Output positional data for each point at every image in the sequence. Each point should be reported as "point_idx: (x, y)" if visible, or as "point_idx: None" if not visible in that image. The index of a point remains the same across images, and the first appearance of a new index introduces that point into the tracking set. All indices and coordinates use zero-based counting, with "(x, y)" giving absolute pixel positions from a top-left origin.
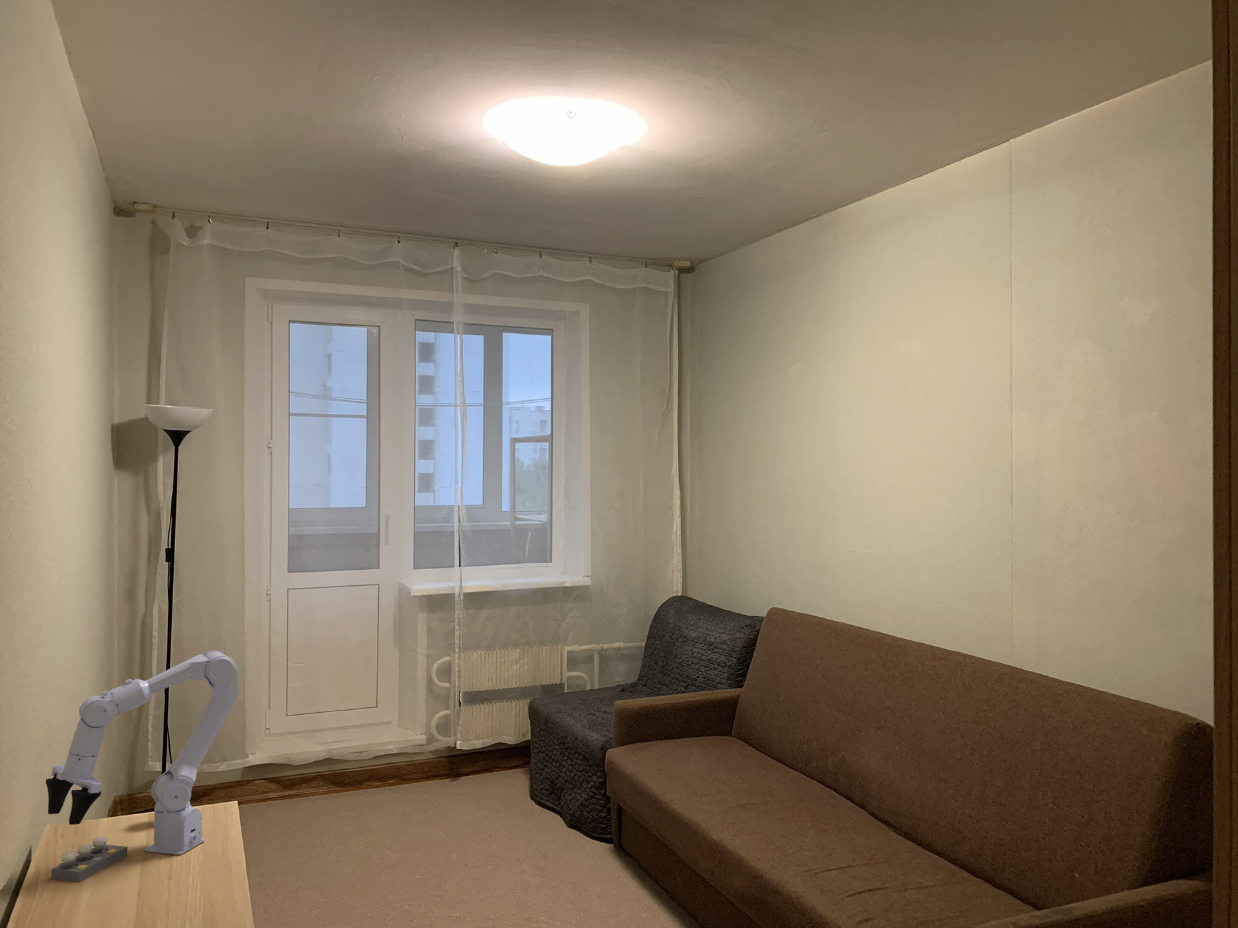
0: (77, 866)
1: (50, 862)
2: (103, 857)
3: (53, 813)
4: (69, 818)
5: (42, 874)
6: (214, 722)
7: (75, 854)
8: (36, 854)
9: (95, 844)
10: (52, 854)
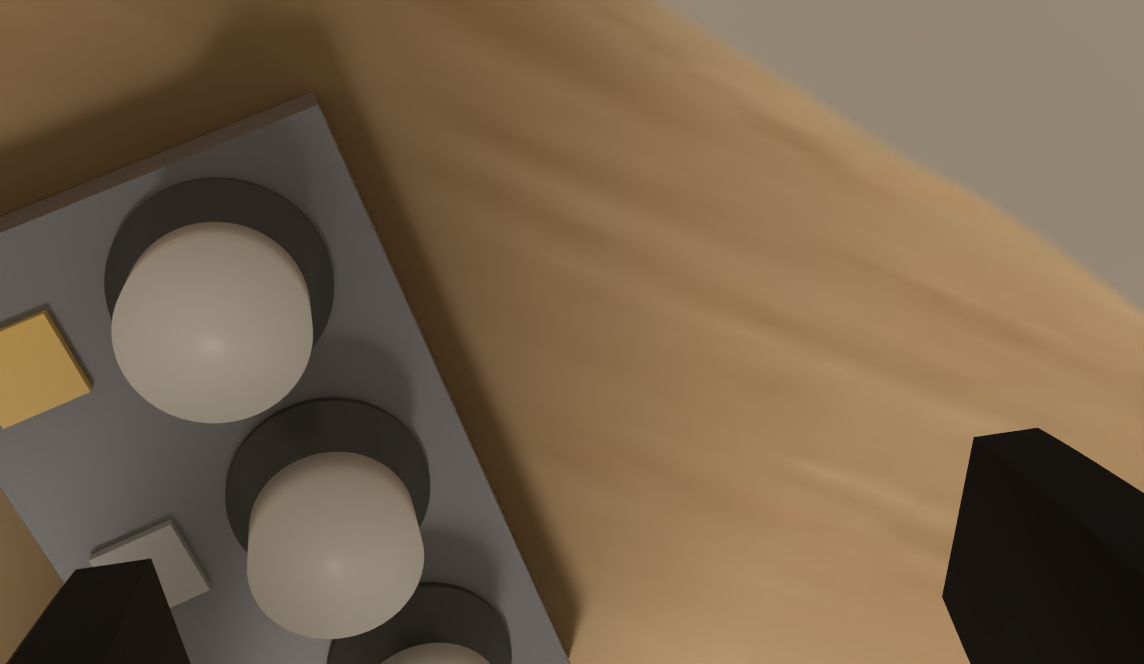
0: (106, 341)
1: (774, 271)
2: None
3: (965, 513)
4: (106, 648)
5: (529, 85)
6: None
7: (139, 387)
8: (1076, 264)
9: None
10: (944, 359)
